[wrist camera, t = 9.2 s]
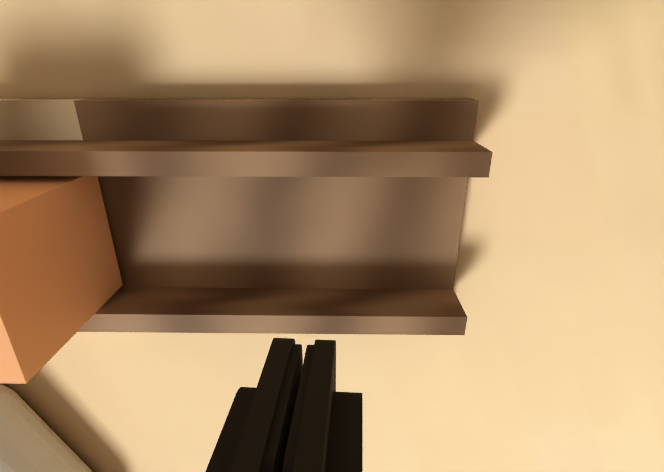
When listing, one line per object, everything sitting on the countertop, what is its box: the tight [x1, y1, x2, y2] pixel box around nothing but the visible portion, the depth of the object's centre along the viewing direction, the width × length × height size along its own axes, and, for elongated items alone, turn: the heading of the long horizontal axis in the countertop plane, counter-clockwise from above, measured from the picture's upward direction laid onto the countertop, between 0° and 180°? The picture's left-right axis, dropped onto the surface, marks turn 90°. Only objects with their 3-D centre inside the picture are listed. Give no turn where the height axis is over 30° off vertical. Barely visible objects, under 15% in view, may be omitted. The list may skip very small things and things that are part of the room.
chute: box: [0, 99, 492, 335], centre depth 19 cm, size 25×12×4 cm, turn 90°
